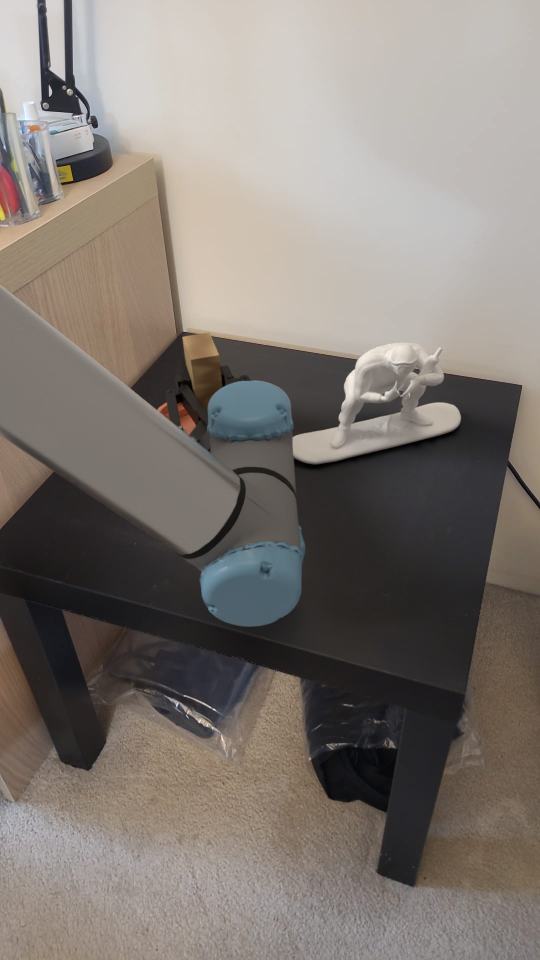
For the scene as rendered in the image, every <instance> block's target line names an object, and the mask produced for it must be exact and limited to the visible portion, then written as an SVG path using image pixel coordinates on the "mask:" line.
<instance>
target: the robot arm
mask: <svg viewBox="0 0 540 960" xmlns="http://www.w3.org/2000/svg"><path fill="white" fill-rule="evenodd" d="M177 361H178V369H179V373H176V374H174V382H175V387H176V388H175V389H174V388H166V389H165V390H164V394H165V401H166V402H167V408H168V413H169V419H170V420H169V419H168V418H166V417H165V416H164V415H163V414H161V413H160V412H159V411H158V409H157V408H155V406H153V405H151V404H150V403H149V402H148V401H146V400H145V399H144V398H143V397H141V396H140V395H139V394H138V393H137V392H136V391H134V390H133V389H132V388H130V387H129V386H128V385H127V384H126V383H124V382H123V381H122V380H120V379H119V378H118V377H117V376H116V375H114V374H113V373H112V372H110V371H109V369H106V368H105V367H104V366H103V365H102V364H101V363H99V362H98V361H97V360H96V359H94V358H93V357H92V356H91V355H89V354H88V353H87V352H86V351H84V350H83V349H82V348H81V347H79V346H78V345H77V344H76V343H74V341H72V340H70V338H68V337H67V336H66V335H64V334H63V333H62V332H60V330H58V329H57V328H56V327H54V326H53V325H52V324H50V322H48V321H47V320H46V319H45V318H43V317H42V316H41V315H40V314H39V313H38V312H36V311H35V310H33V309H32V308H31V307H30V306H28V305H27V304H26V303H25V302H24V301H22V300H21V299H20V298H19V297H17V296H16V295H15V294H13V293H12V292H11V291H10V290H8V289H7V288H6V287H5V286H4V285H2V283H0V437H2V438H3V439H5V440H6V441H7V442H9V443H11V444H12V445H13V446H15V447H17V448H18V449H19V450H21V451H22V452H24V453H25V454H27V455H29V456H30V457H31V458H33V459H35V460H36V461H37V462H39V463H41V464H42V465H44V466H45V467H47V469H49V470H51V471H53V472H54V473H56V474H57V475H58V476H60V477H62V478H63V479H64V480H66V481H67V482H69V483H70V484H72V485H73V486H75V487H76V488H78V489H79V490H81V491H82V492H84V493H85V494H87V495H88V496H89V497H91V498H93V499H94V500H96V501H97V502H99V503H100V504H101V505H104V507H106V508H108V509H109V510H110V511H112V512H114V513H115V514H117V515H118V516H119V517H121V518H123V519H124V520H126V521H127V522H128V523H130V524H131V525H133V526H134V527H136V528H137V529H139V530H141V531H142V532H144V533H145V534H147V535H148V536H150V537H151V538H153V539H154V540H155V541H157V542H159V543H161V545H163V546H164V547H166V548H168V549H169V550H171V552H173V553H174V554H176V555H178V556H179V557H181V558H182V559H183V560H184V561H186V562H187V563H189V564H190V565H192V566H193V567H195V568H196V569H198V570H199V571H200V572H201V573H200V575H199V586H200V589H201V590H200V591H201V598H202V600H203V603H204V605H205V606H206V607H207V609H208V611H209V613H210V614H211V615H213V616H214V617H215V618H217V619H218V620H220V621H222V622H224V623H227V624H229V625H232V626H233V625H234V626H238V627H246V628H247V627H248V628H250V627H261V626H266V625H269V624H272V623H275V622H276V621H278V620H279V619H283V618H284V617H285V616H288V615H289V614H290V613H291V612H292V611H293V610H294V609H295V607H296V606H297V605H298V603H299V601H300V598H301V596H302V578H303V576H302V573H303V571H302V570H303V564H304V557H305V555H306V543H305V540H304V537H303V534H302V531H303V530H302V527H301V526H300V525H299V524H300V523H299V514H298V505H297V503H298V502H297V487H296V474H295V473H296V472H295V471H296V470H295V458H294V457H293V437H294V435H293V430H294V420H293V417H292V415H293V414H292V406H291V405H292V403H291V400H290V398H289V396H288V394H287V393H286V392H285V390H283V389H282V388H280V386H277V385H276V384H273V383H270V382H267V381H263V380H251V378H250V377H249V375H247V374H242V375H239V377H235V376H234V375H233V374H232V371H231V369H230V367H229V366H228V365H220V369H221V379H222V388H221V389H219V390H218V391H217V392H216V393H215V394H214V395H213V396H212V397H211V399H210V401H209V404H208V410H207V409H206V407H205V408H204V407H203V406H202V404H201V403H200V402H199V400H198V399H197V398H196V396H195V395H194V393H193V388H192V381H191V378H190V375H189V372H188V369H187V366H186V360H185V356H184V355H178V356H177ZM179 403H181V404H182V405H183V407H184V408H185V410H186V411H187V413H188V414H189V416H190V417H191V419H192V420H193V422H194V423H195V424H196V427H195V428H194V429H193V431H192V432H191V433H190V435H188V434H187V433H186V430H185V429H183V426H181V423H180V417H179V412H178V407H177V404H179Z"/></svg>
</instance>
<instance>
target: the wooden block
mask: <svg viewBox="0 0 540 960" xmlns="http://www.w3.org/2000/svg"><path fill="white" fill-rule="evenodd" d="M181 337H182V344H183V345H182V346H183V352H184V360H185V363H186V366H187V369H188V372H189V375H190V378H191V381H192V388H193V393H194V395H195V396H196V398H197V399H198V400H199V402H200V403H201V404H202V406H203V407H204V408H205V407H206V409H207V410H208V404H209V401H210V399H211V397H212V396H213V395H214V394H215V393H216V392H217V391H218V390H219V389H221V388H222V379H221V369H220V366H221V361H220V354H219V351H218V349H217V346H216V344H215V342H214V340H213V337H212V334H211V333H210V332H203V333H197V334H192V335H185V336H181ZM195 425H196V424H195Z"/></svg>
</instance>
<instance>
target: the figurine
mask: <svg viewBox="0 0 540 960" xmlns="http://www.w3.org/2000/svg"><path fill="white" fill-rule="evenodd" d="M443 350H444V349H443V347H441V346H439V347H438V348H437V350H436V351H435V353H434V354H430V352H428V350H427V349H425V347H424V346H423V345H421V344H418V343H413V342H407V341H406V342H392V343H388V344H384V345H379V346H376V347H373V348H371V349H369V350H367V351H366V352H365V353H364V354H362V355H361V356H360V357H359V358H358V359H357V360H356V363H355V364H354V365H355V366H354V369H353V370H352V371H351V372H349V374H348V375H347V377H346V378H345V382H344V384H343V391H344V394H345V398H344V401H343V402H342V404H341V406H340V409H341V411H340V413H339V415H338V421H339V424H338V426H336V427H331V428H326V429H321V430H316V431H311V432H304V433H299V434H297V435H293V459H294V460H297V461H299V462H300V463H305V464H308V465H320V464H328V463H333V462H334V463H335V462H339V461H342V460H346V459H349V458H353V457H357V456H362V455H366V454H371V453H374V452H380V451H382V450H383V451H384V450H388V449H391V448H395V447H399V446H403V445H406V444H411V443H415V442H419V441H423V440H425V439H426V440H427V439H431V438H434V437H438V436H441V435H445V434H448V433H450V432H453V431H454V430H456V429H457V428H458V427H459V426H460V424H461V421H462V415H461V413H460V410H459V408H458V407H456V405H454V404H451V403H448V402H442V401H441V402H431V403H427V404H423V405H420V406H418V405H419V399H420V398H421V397H422V396H423V395H424V393H425V391H426V389H427V387H428V386H430V387H436V386H438V385H441V384H442V383H443V382H444V379H445V374H444V371H443V369H442V368H441V367H440V366H439V364H438V363H439V361H440V359H439V356H440V355H441V353H442V351H443ZM415 368H416V369H418V371H419V373H416V372H414V370H415ZM400 391H402V394H401V392H400ZM399 397H400V398H401V405H402V407H401V409H400V412H396V413H393V414H392V413H391V414H388V415H387V414H386V415H382V416H378V417H375V418H370V419H365V420H361V421H357V422H355V420H356V416H357V415H358V414H359V413H360V412H361V410H362V408H363V407H364V404H365V403H366V404H382V403H384V404H386V403H391V402H393V401H394V400H396V399H397V398H399Z"/></svg>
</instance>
